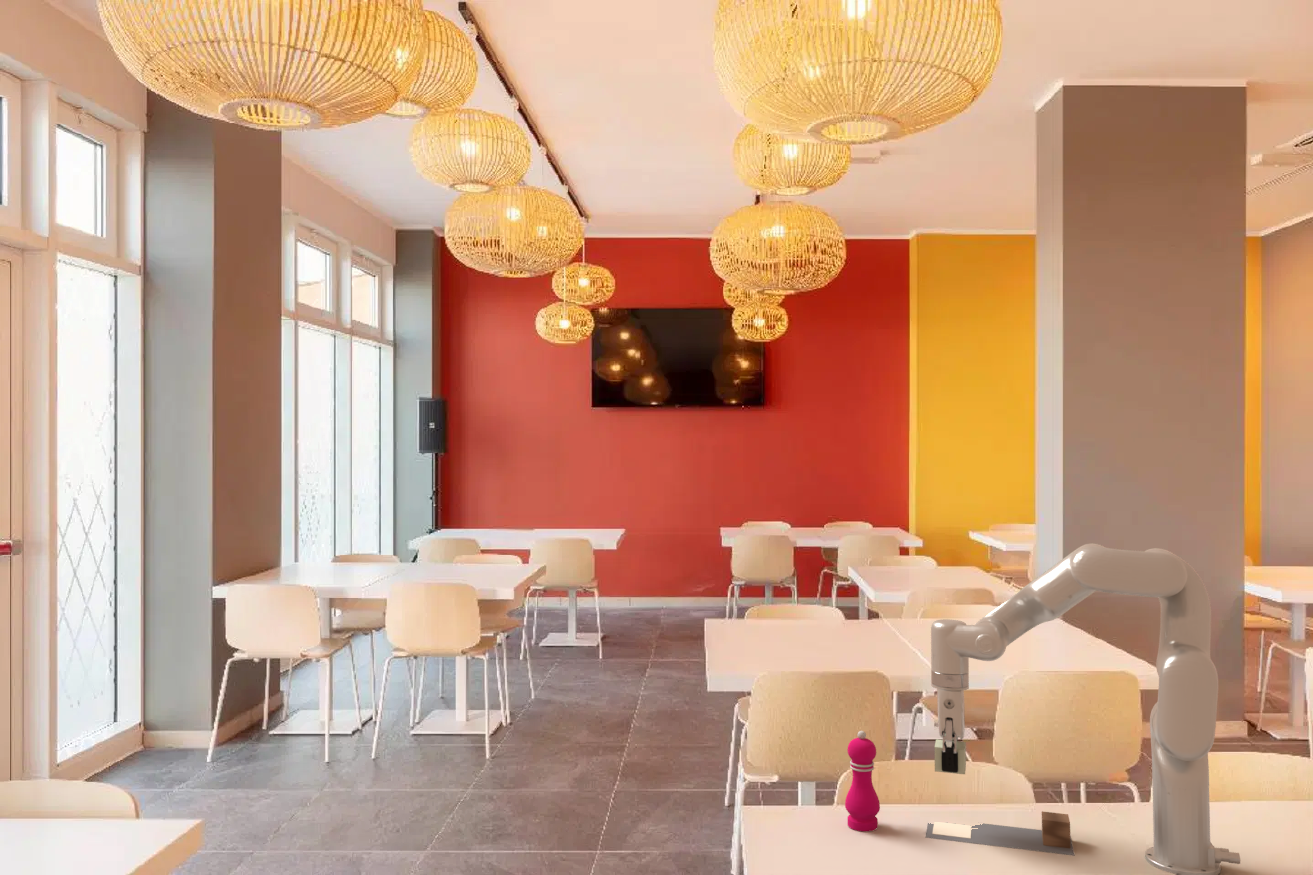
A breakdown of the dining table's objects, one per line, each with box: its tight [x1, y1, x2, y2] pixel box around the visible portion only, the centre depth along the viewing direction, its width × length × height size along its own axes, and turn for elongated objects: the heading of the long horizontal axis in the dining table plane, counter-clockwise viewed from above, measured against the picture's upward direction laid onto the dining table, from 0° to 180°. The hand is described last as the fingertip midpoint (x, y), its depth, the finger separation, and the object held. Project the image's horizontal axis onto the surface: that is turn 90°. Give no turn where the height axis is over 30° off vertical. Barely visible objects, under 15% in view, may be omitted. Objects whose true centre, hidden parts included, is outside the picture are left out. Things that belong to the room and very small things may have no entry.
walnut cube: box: [1041, 810, 1071, 848], centre depth 190 cm, size 5×5×5 cm
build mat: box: [925, 822, 1076, 857], centre depth 194 cm, size 28×12×1 cm, turn 71°
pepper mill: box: [844, 730, 881, 833], centre depth 200 cm, size 7×7×20 cm
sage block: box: [934, 739, 967, 775], centre depth 197 cm, size 6×6×5 cm
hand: (950, 765), depth 197 cm, fingers closed on sage block, 6 cm apart
